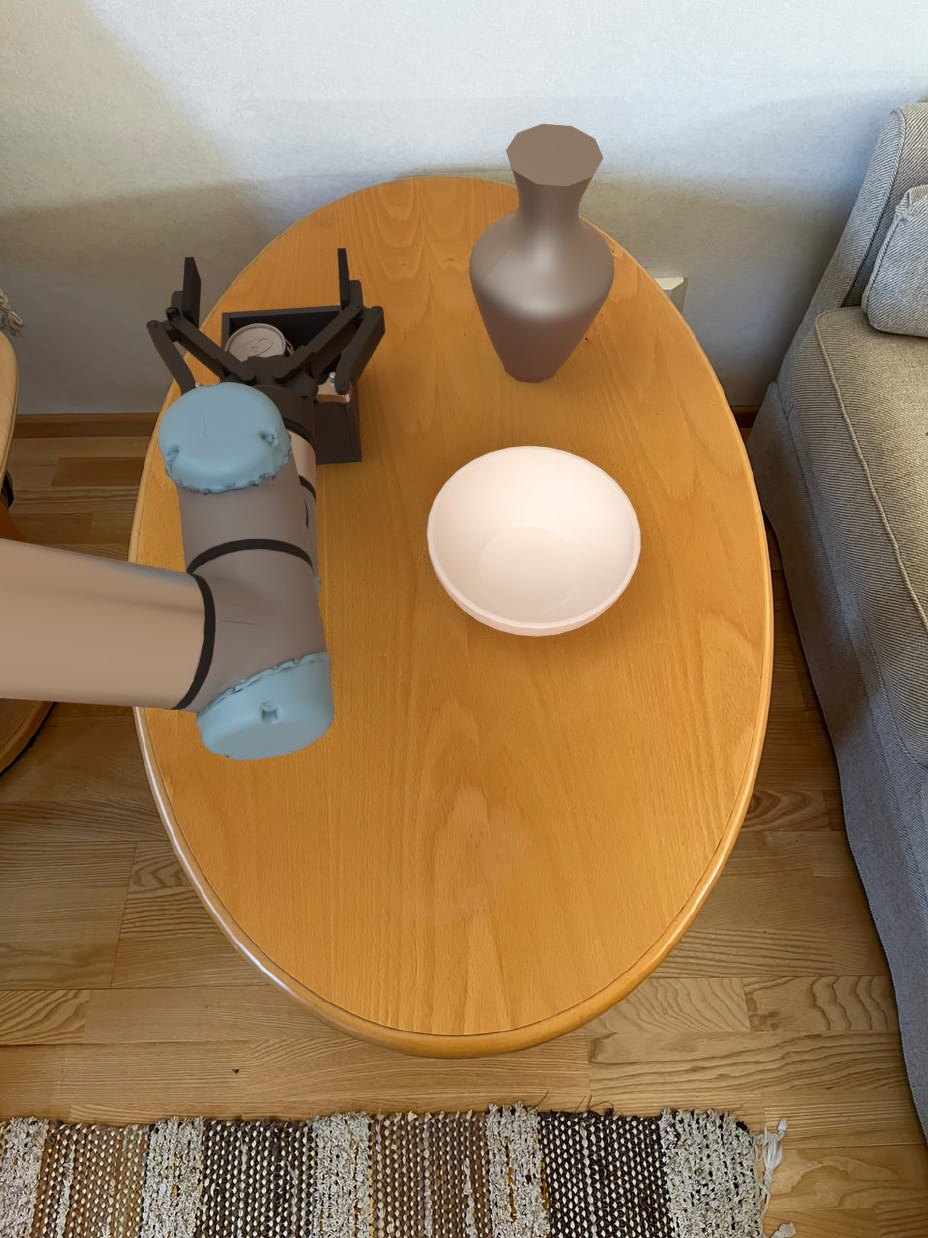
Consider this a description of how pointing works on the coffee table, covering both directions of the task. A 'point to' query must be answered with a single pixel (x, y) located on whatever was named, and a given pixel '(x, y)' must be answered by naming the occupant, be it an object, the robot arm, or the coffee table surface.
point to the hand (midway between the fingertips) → (268, 264)
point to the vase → (543, 256)
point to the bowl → (533, 540)
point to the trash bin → (332, 423)
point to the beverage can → (258, 342)
